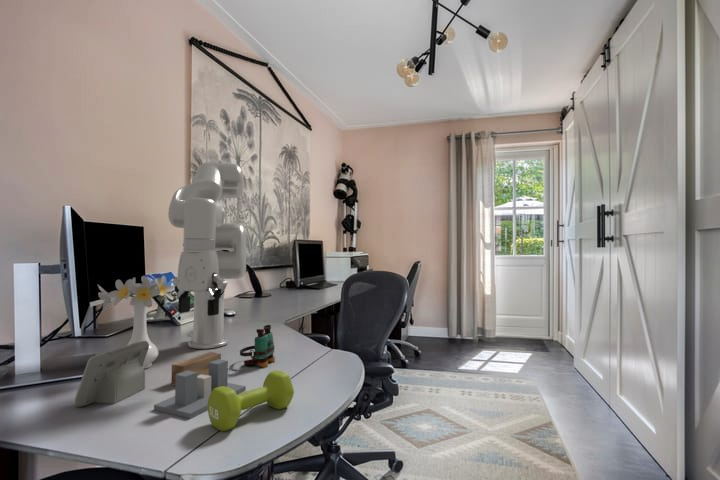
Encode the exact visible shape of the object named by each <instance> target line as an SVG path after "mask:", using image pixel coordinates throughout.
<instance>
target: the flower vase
mask: <svg viewBox="0 0 720 480" xmlns="http://www.w3.org/2000/svg"><path fill="white" fill-rule="evenodd" d="M140 281H141V283H138V282H137V283H136V277H133V278H130V279H126V281H125V283H123V281H122V280H121V279H117V280H115V288H116V289H117V290H112V291H110V292H107V290H105V289H104V288H103V287H102V286H100V285H99V284H97V287H98V290H100V292H98V293H97V294H98V298H99V299H100V300H102V301H103V302H102V310H103V312H105V311H106V310H108V305H109V304H110V302H111V300H112V299H114V301H113V303H112V305H113V306H118V305H119V303H120V302H121V301H122V300H124V299H125V300H128V299H129V298H130V297H131V298H130V301H129V305H130V306H133V327H132V328H133V329H132V335H131V338H130V340H129V341H128V343H127V345H129V344H132V343H136V342H139V341H147V342H148V343H149V348H148V351H147V354H146V357H145V360H144V363H143V366H142V368H143V369H144V370H146V369H148V368H150V367H152V365H153V362H154V361H156V359H157V358H158V356H159V353H160V352H159V350H158V346H156V345H155V344H154V343H153V342H152V341H151V340H150V338H149V337H150V336H149V335H148V329H147V312H148V311H147V309H148V308H151V307H153V300H152V298H153V297H156V296H159V295H160V296H162V297H163V296H165V297H166V298H168V299H169V300H171V301H173V300H174V297H173V295H172V294H171V293H172V292H174V291H175V289H174V288H175V287H174V285H172V284H171V285H170V284H167V278H166V276H165V275H162V276H161V277H156V278H154V279H153V280H151V281H150V279H149V278H148V277H147V276H146V275H142V276H141V280H140ZM170 292H171V293H170Z"/></svg>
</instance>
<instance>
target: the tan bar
mask: <svg viewBox="0 0 720 480" xmlns="http://www.w3.org/2000/svg"><path fill="white" fill-rule="evenodd" d="M217 359H221V360H222V354H221V353H219V352H212V351H208V352H205V353H202V354H199V355H196V356H193V357H190V358H187V359H184V360H181V361H178V362H174V363H172V364H171V380H170V381H171V385H173V384H175V381H176V374H179V373H182V372H184V371H187V370H188V371H193V372H197V376H198V375H201V374H203V375H209V362H212V361H215V360H217Z"/></svg>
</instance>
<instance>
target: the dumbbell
mask: <svg viewBox="0 0 720 480" xmlns="http://www.w3.org/2000/svg"><path fill="white" fill-rule="evenodd" d="M294 394H295V390H294V387H293V383H292V378H291V376H290V375H289V374H288V373H287V372H285V371H281V370H279V369H277V370H272V371H270V372H269V373H268V374H267V375H266V377H265V379H264V381H263V383H262V386H261V387H258V388H253V389H251V390H247V391H244V392H242V393H240V394H238V395H237V394H236V392H235V391H234V390H233V389H231V388H229V387H226V386H221V387H217V388H214V389H213V390H212V392H211V394H210V397H209V399H208V403H207V409H208V410H207V414H208V418H209V421H210V423H211V426H212V427H214V428H215V429H217V430H219V431H220V432H226V431H229V430H232V429H233V428H234V427H236V425H237V423H238V422H239V419H240V417H241V412H242V411H244V410H248V409H252V408H253V407H256V406H260V405H262V404H265V403H266V404H267V405H268V406H270V407H271V408H273V409H276V410H282V409H285V408H287V407H288V406H290V404H291V403H292V400H293V397H294Z"/></svg>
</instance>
